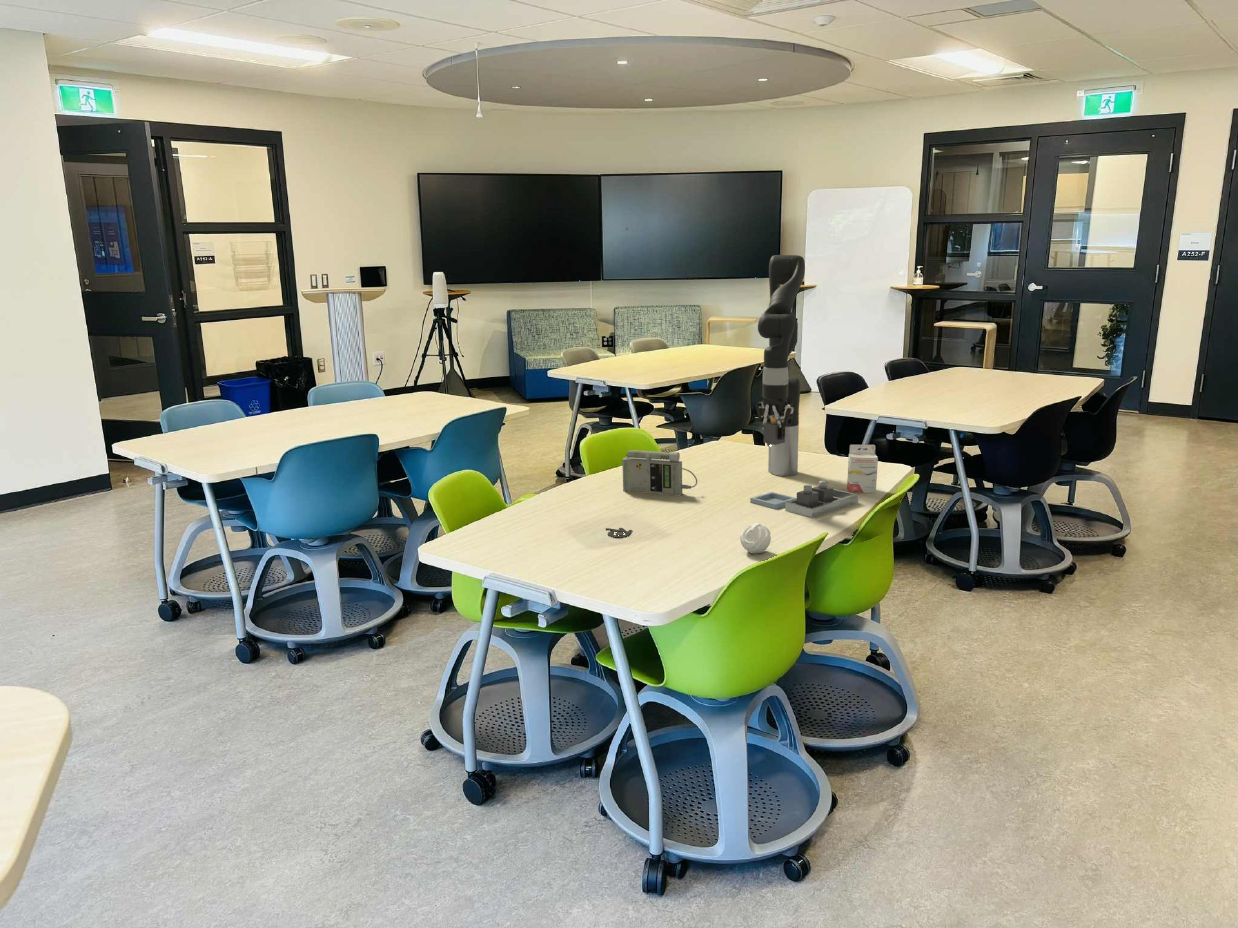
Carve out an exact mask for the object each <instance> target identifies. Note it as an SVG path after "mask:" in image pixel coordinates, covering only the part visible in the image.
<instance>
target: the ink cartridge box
mask: <svg viewBox="0 0 1238 928" xmlns="http://www.w3.org/2000/svg"><path fill="white" fill-rule="evenodd" d="M862 448H863V449H862ZM878 457H879V456H877V454H876V445H875V444H850V445H849V453H848V461H847V462H848V463H847V465H848V466H847V480H846V481H847V483H846V489H847V492H850V493H856V494H860V493H861V494H862V493H865V494H867V493H868V494H872V493H873V494H874V493H875V494H877V479H878V463H879V458H878Z"/></svg>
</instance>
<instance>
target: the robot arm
mask: <svg viewBox="0 0 1238 928" xmlns="http://www.w3.org/2000/svg"><path fill="white" fill-rule="evenodd" d="M805 261H806V260H805V259H804V257H803V256H802V255H797V254H775V255H772V256H771V258H770V259H769V265H768V282H769V283H768V284H769V303H768V307H767V308H766V309H765V310H764V312H763V313H762V314H761V316H760V318H759V320H758V323H757V331H758V334H759V335H760V336H761V338H764V339H768V341H769V342H768V344H769V345H768V346H767V347H765V349H764V351H763V369H762V370H763V371H762V394H761V395H762V398H763V400H762V401H758V402H755V409H756V414H757V419H758V422H760V423H762V425H764V423H767V422H771V416H775V419H776V420H777V423H778V427H779V428H778V440H782V439H784V437H785V443H781V444H777V445H773V444H768V462H767V465H768V467H767V469H768V471H767V472H768V473H771V474H772V475H774V476H779V477H780V476H782V477H787V476H788V477H789V476H796V475H797V474H798V472H799V471H798V469H799V468H798V467H799V463H798V462H799V431H800V430H799V429H800V428H799V427H800V425H799V424H800V420H799V419H800V417H799V415H800V402H801V401H800V398H801V382H800V379H799V378H798V377H789V370H788V368H789V366H788V365H789V364H788V362H789V356H790V355H791V353H792V352H793V351H794V349H795V348H796V346H797V343H798V335H799V334H798V332H799V331H798V330H799V327H798V325H799V324H798V320H797V318H796V316H795V314H794V313H793V307H794V302H795V300H796V297H797V294H798V293H799V290H800V289H801V285H802V284H803V281H804V277H805V273H806V264H805V263H806V262H805Z"/></svg>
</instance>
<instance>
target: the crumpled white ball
mask: <svg viewBox="0 0 1238 928" xmlns="http://www.w3.org/2000/svg"><path fill="white" fill-rule="evenodd" d="M771 533H772V532H771V531H770V530H769V528H768V527H767V526H766V525H765V524H761V523H760V522H755V523H751V524H749V525H747V526H746V527H744V529H743V530H742V531H741V533H740V536H739V540H740V544H741V546H742V547H743V548H744V550H745V551H747V552H749V553H751V554H761V553H763V552H765V551H767V549H768V547H769V546H770V544H771V541H772V540H771V539H772V537H771V536H772V535H771Z"/></svg>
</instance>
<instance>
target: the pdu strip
mask: <svg viewBox="0 0 1238 928" xmlns="http://www.w3.org/2000/svg"><path fill="white" fill-rule="evenodd" d="M796 501H797V499H794V500H791V501H788V502H785V506H784V508H785V510H784V511H785V512H788V513H793V514H796V515H799V516H800V515H801V516H804V517H807V518H811V519H812V518H815V517H820V516H821V515H826V514H828V513H831V512H835V511H838V510H840V509H841V510H842V509H843V508H846V507H849V506H853V505H856V504H859V493H855V492H849V491H847V490H846V491H845V490H841V489H837V488H836V489H835V488H833V501H831V502H828V503H825V502H821V501H818V506H816V507H813V508H811V507H807V506H803V505H799V504H796Z"/></svg>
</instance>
